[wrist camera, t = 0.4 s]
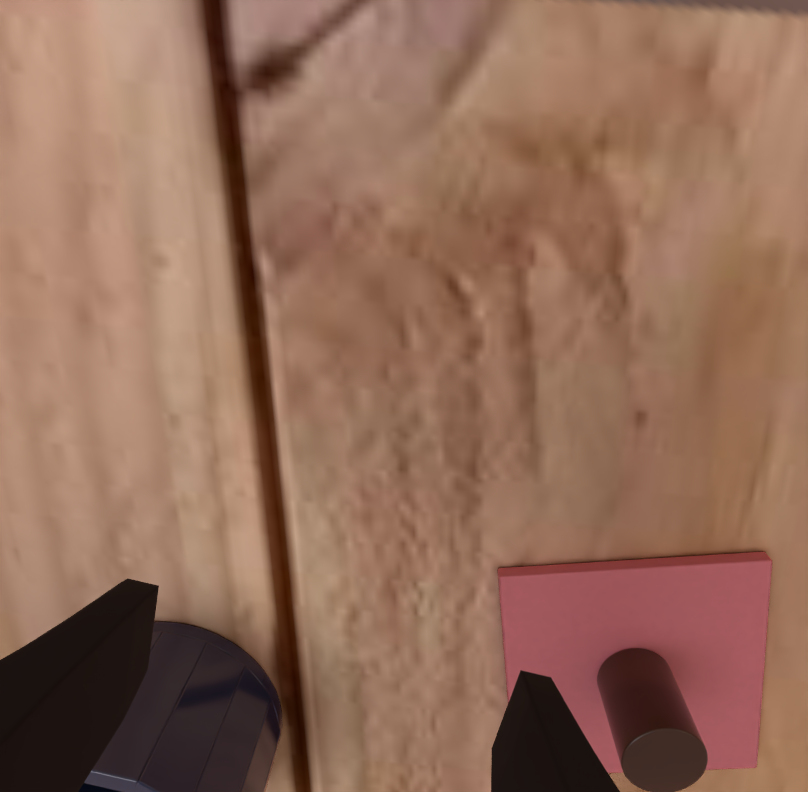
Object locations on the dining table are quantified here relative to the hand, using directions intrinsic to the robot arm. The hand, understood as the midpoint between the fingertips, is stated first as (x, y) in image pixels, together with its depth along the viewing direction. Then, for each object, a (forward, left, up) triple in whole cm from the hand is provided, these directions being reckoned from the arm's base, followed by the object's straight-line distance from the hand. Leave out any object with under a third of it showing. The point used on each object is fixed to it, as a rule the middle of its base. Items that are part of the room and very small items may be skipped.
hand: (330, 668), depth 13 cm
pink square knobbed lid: (-6, -11, -10) cm, 16 cm away
